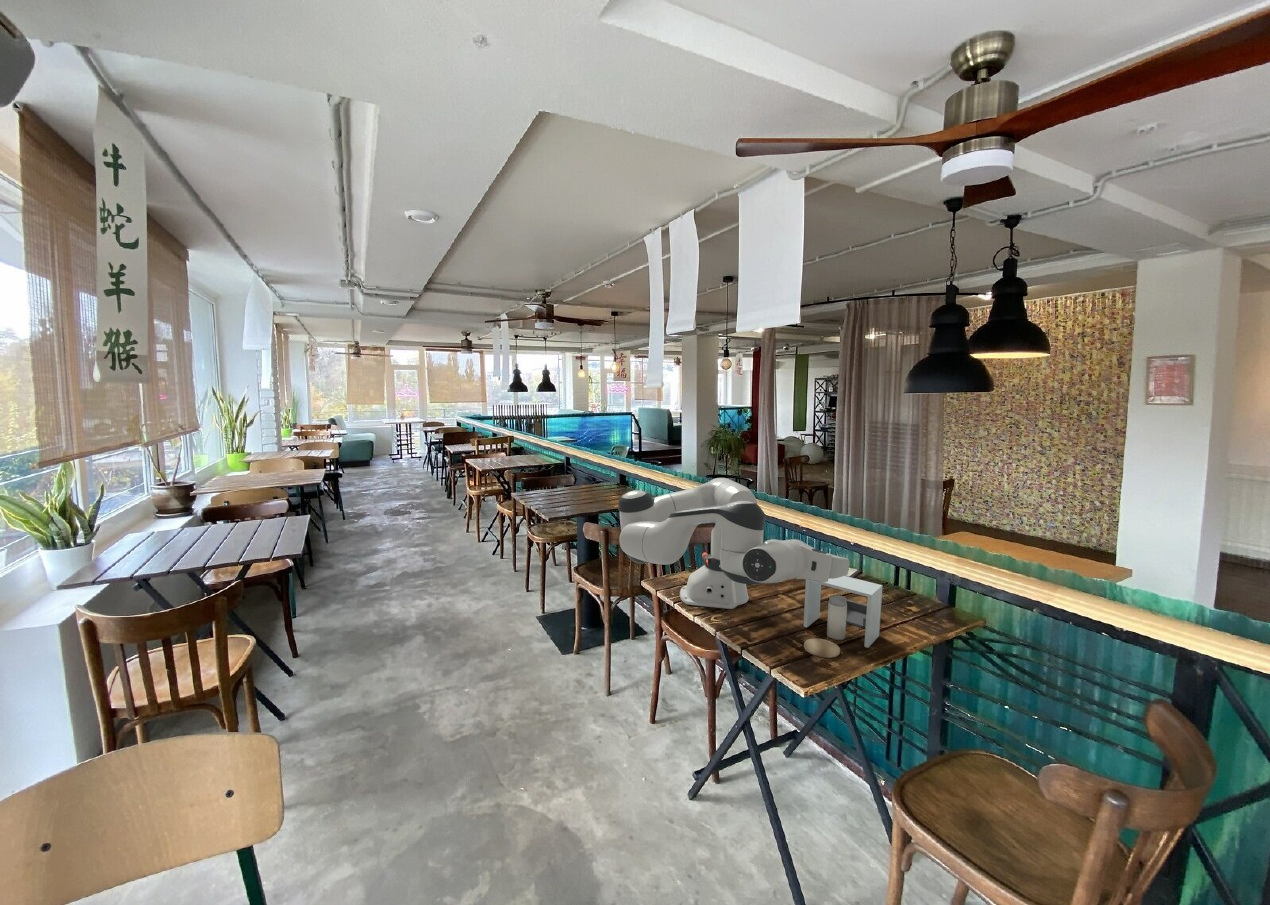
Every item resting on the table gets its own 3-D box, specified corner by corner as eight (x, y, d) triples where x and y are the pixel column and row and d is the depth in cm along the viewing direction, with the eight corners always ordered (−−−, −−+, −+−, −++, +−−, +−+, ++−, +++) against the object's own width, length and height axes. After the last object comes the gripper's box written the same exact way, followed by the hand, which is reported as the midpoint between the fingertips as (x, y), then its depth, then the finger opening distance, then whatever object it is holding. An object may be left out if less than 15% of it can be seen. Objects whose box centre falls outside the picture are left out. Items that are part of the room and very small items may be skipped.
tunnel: (868, 647, 136) (871, 594, 134) (803, 626, 148) (805, 577, 146) (879, 635, 142) (882, 585, 141) (816, 616, 154) (818, 569, 153)
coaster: (809, 657, 131) (809, 655, 131) (799, 640, 140) (799, 638, 140) (845, 658, 131) (845, 656, 130) (832, 640, 139) (833, 638, 139)
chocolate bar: (818, 577, 185) (837, 565, 198) (818, 580, 185) (837, 567, 198) (844, 584, 179) (861, 570, 192) (844, 586, 179) (861, 573, 192)
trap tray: (866, 628, 147) (867, 619, 146) (831, 618, 153) (832, 608, 153) (877, 617, 154) (878, 608, 154) (844, 607, 161) (844, 598, 160)
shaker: (830, 639, 140) (832, 601, 139) (824, 631, 145) (826, 594, 144) (847, 640, 140) (850, 601, 139) (841, 631, 145) (843, 594, 143)
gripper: (751, 559, 127) (778, 555, 136) (832, 584, 112) (855, 577, 122) (755, 534, 126) (782, 532, 136) (836, 556, 112) (859, 552, 122)
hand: (817, 553), depth 129 cm, fingers open, 8 cm apart
